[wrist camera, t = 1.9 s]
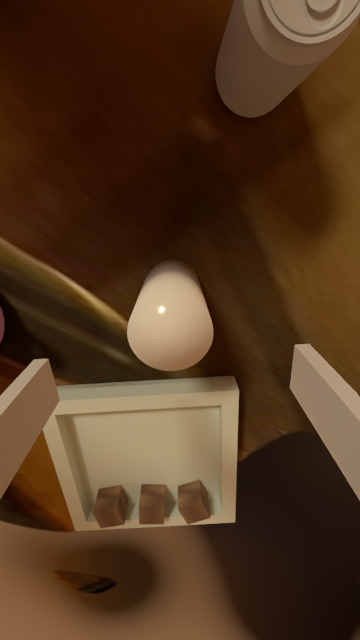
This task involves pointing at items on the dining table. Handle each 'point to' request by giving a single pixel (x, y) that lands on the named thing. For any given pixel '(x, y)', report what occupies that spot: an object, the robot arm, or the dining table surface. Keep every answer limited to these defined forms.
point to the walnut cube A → (110, 506)
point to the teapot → (1, 324)
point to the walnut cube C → (193, 502)
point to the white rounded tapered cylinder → (170, 318)
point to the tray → (146, 444)
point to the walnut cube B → (152, 504)
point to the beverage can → (277, 48)
